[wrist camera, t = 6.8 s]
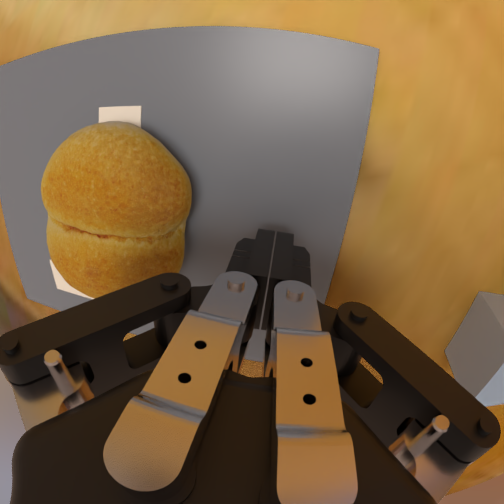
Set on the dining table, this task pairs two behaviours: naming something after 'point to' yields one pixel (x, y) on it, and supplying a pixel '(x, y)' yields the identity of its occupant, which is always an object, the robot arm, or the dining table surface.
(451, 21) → the dining table surface
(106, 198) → the bread roll
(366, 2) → the dining table surface
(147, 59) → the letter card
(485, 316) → the gray cube
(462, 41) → the dining table surface
